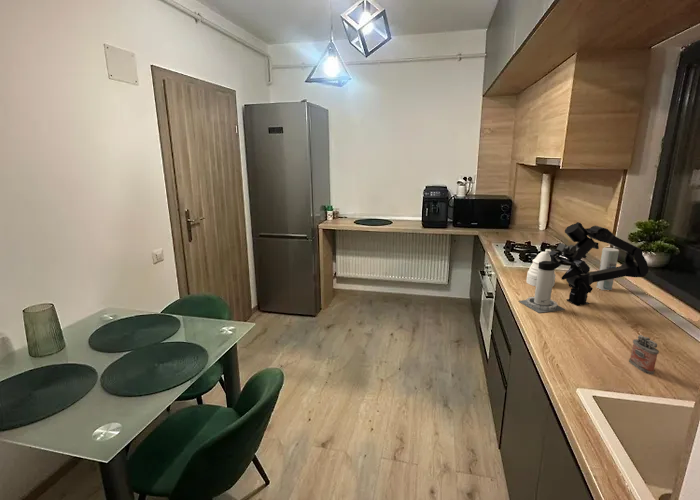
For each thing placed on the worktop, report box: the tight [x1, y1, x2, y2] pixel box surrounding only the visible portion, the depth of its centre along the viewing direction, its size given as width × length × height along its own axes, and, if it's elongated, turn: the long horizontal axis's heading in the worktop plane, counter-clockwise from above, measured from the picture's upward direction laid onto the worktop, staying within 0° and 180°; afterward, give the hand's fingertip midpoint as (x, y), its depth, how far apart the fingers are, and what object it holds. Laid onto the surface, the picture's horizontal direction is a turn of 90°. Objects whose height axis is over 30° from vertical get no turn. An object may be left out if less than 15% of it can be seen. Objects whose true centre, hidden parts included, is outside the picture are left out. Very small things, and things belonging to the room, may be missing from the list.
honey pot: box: [526, 248, 556, 288], centre depth 191 cm, size 13×13×18 cm
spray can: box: [596, 247, 620, 291], centre depth 182 cm, size 6×6×20 cm
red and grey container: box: [628, 334, 660, 375], centre depth 117 cm, size 8×3×10 cm, turn 5°
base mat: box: [518, 299, 566, 314], centre depth 166 cm, size 13×13×1 cm
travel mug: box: [533, 261, 556, 306], centre depth 163 cm, size 6×7×20 cm
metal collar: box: [525, 296, 559, 311], centre depth 165 cm, size 12×12×1 cm
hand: (554, 275), depth 163 cm, fingers open, 9 cm apart
